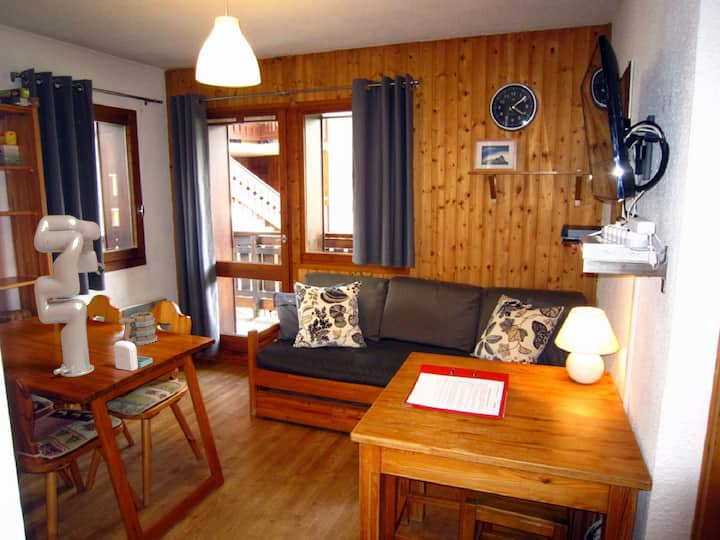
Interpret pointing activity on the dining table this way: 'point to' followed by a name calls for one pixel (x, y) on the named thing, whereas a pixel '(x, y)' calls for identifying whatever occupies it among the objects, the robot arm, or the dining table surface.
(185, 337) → the dining table surface
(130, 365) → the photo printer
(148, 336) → the tankard
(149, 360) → the slot frame
